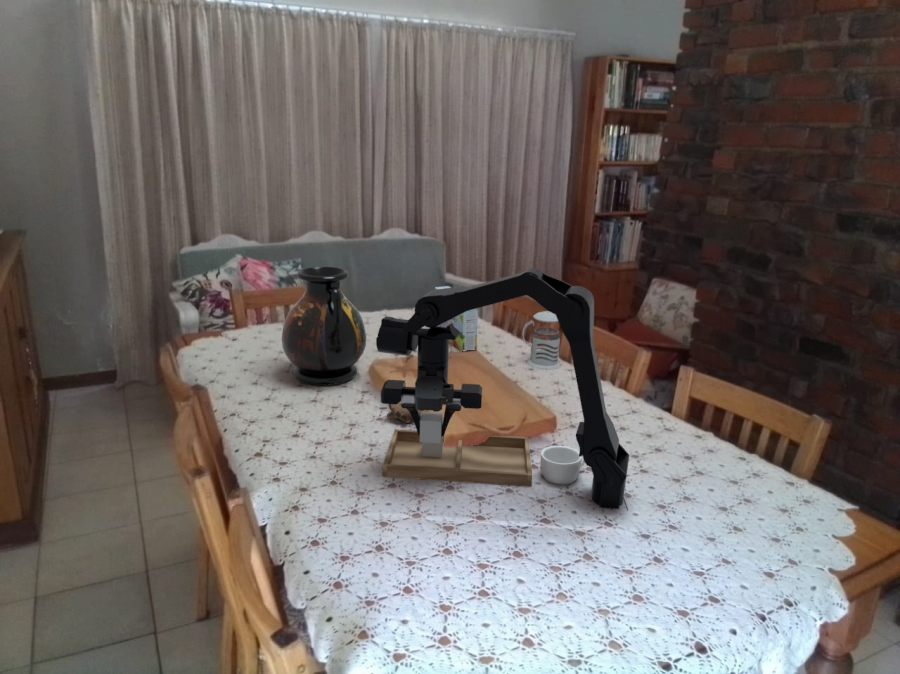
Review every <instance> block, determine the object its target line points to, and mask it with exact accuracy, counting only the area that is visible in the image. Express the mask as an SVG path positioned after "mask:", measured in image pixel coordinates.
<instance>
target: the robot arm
mask: <svg viewBox="0 0 900 674" xmlns="http://www.w3.org/2000/svg"><path fill="white" fill-rule="evenodd" d="M525 296H528V297H529V298H531V299H532V300H533V301H535V302H536V303H538V304H539V305H540V306H541V307H542V308H544V310H545V311H550V312H551V313H553V314H555V315H556V317H557V319H558V322H557V323H558V324H559V326H560V330H561V332H562V334H563V335H564V337H565V339H566V340H567V343H568V344H569V347H570V352H571V358H572V364H573V369H574V374H575V379H576V385H577V390H578V395H579V401H580V406H581V411H582V416H583V421H579V424H578V427H577V429H576V433H575V438H576V439H575V440H576V441H577V444H578V448H579V452H580V453H579V457H581V456H582V455H583V456H582V460H584V462H585V465H586V466H588V467H590V469H591V473H592V484H591V485H592V487H591V494H590V499H591V500H592V501H593V503H595V504H596V505H597V506H599V508H601V509H611V510H612V509H613V510H619V509H620V506H622V505H623V504H624V505H625V508H626V511H627V512H628V511H629V509H628V506H627V503H626V499H625V492H626V491H625V490H626V483H627V482H626V481H627V477H628V470H629V469H628V467H629V462H630V453H628V451H627V450H626V449H625V448H624V447H623V446H622V445H621V444H620V438H619V436H618V433H617V431H616V428H615V426H614V423H613V421H612V419H611V417H610V416H609V413H608V412H607V408H606V403H605V402H606V401H605V397H604V393H603V392H604V391H603V386H602V382H601V375H600V370H599V364H598V358H597V352H596V348H595V343H594V324H595V323H594V322H595V298H594V295H593V293H592V292H591V291H590V290H589V289H587V288H586V287H584V286H580V285H572V284H570V283H568V282H566V281H565V280H561V279H559V278H556V277H553V276H552V275H548V274H546V273H545V272H543V271H541V270H539V269H538V268H534V267H532V268H528V269H526V270H524V271H522V272H518V273H514V274H510V275H507V276H504V277H500V278H496V279H492V280H490V281H486V282H482V283H479V284H476V285H471V286H468V287H460V288H459V287H451V288H445V289H436V290H435V289H433V290H431V291H429V292H428V293H426V294H425V295H423V296H422V297H420V298H419V299H417V301H416V304H415V306H414V314H413V315H412V316H411V317H410V318H409V319H403V318H396V317H392V316H387V315H385V316H384V317H383V318H382V319H380V320H381V321H380V322H381V323H380V324H381V325H380V326H379V329H378V332H377V337H376V340H375V343H376V349H377V351H378V352H379V353H384V354H392V355H399V356H405V357H408V356H410V355H411V354H412V352H416V350H417V370H416V371H417V372H416V373H417V377H416V379H415V382H414V386H407V385H406V380H402V379H401V380H399V379H387V380H386V381H384V383H383V386H382V388H381V391H380V403H381V404H383V405H384V404H386V405H388V404H398V403H399V402H400V401H401V400H402V403H401V407H402V408H406V409H407V410H408V411H409V412H410V414H411V416H412V418H413V421H414V422H413V423H414V426H415V428H416V431H417V432H418V435H420V419H421V415H422V412H424V411H430V412H431V411H432V412H433V413H439V412H441V411H442V410H443V406H445V409H444V413H443V424H442V431H441V436H442V437H443V436H444V434H445V432H446V430H447V428H448V425H449V423H450V420H451V419H452V417H453V415H454V414H455V412H460V411H461V410H462V407H463V408H464V409H473V410H479V409H481V408H482V404H483V403H482V401H483V399H482V398H483V387H482V386H481V385H480V384H478V383H461V389H460V388H455V386H454V383H449V382H448V381H449V378H448V377H449V352H450V351H449V349H450V343H449V340H455V339H456V338H457V337H458V336H459V335H460V334H461V333H460V331H459V330H458V329H456V328H455V327H454V326H453V324H452V323H451V324H449V325H448V326H447V327H441V326H438V325H440V324H442V323H444V322H447V321H449V320H451V319H453V318H454V317H456V316H458V315H460V314H462V313H464V312H466V311H469V310H472V309H476V308H478V309H479V308H483V307H487V306H490V305H494V304H498V303H502V302H506V301H509V300H512V299H513V300H514V299H517V298H520V297H525ZM424 327H426V328H424Z"/></svg>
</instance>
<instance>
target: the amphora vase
mask: <svg viewBox="0 0 900 674" xmlns="http://www.w3.org/2000/svg"><path fill="white" fill-rule="evenodd" d="M349 275H350V274H349V271H348V270H346V269H344V268H340V267H334V266H333V267H332V266H312V267H311V266H310V267H306V268H302V269H299V270H298V271H297V273H296V277H297V278H298V279H299V280H301V281H304V285H305V291H304V293H303V294H302V296H301V297H300V298H299V300H297V301H296V302H295V304H294V305H293V306H292V307H291V308H290V310H289V311H288V313H287V315H286V317H285V321H284V324H283V328H282V334H281V344H282V349H283V352H284V355H285V356H286V358H287V359H288V360H289V361H290V363H292V365H294V368H293V370H292V371H293V376H294V378H295V379H296V380H298V381H300V382H302V383H305V384H307V385H314V386H333V385H338V384H339V385H340V384H342V383H346V382H347V381H349V380H351V379H353V378H354V377H355V376H356V374H357V372H358V370H357V365H356V363H358V361H359V360H360V358H361V357H362V355H363V354H364V352H365V349H366V347H367V333H366V328H365V323H364V320H363V318H362V315H361V314H360V311H359V310H358V309H357V307H356V306H355V305H354V304H353V303H352V302H351V301H350V300H349V299H348V298H347V297H346V296H345V294H344V293H343V291H342V289H341V284H342V281H344V280H346V279H348V277H350V276H349Z"/></svg>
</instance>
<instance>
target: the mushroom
mask: <svg viewBox="0 0 900 674" xmlns="http://www.w3.org/2000/svg"><path fill="white" fill-rule="evenodd" d="M401 403H402V400H401V401H400V402H399V403H398V404H387V405H388V407H389V409H390V411H388V412H387V414H386V418H387V419H388V420H401V421H402V422H404V423H406V424H413V423H414V421H413V418H412V416H411V414H410V412H409V411H408V410H407V409H406V408H402V407H401Z"/></svg>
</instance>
